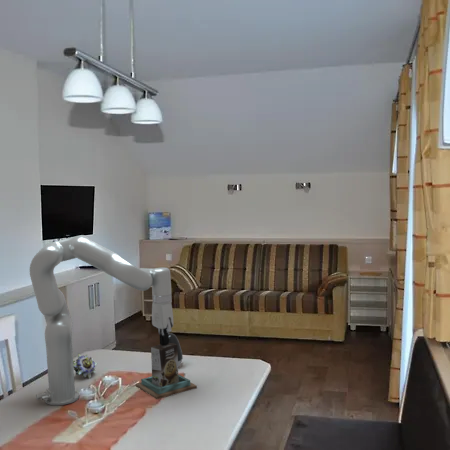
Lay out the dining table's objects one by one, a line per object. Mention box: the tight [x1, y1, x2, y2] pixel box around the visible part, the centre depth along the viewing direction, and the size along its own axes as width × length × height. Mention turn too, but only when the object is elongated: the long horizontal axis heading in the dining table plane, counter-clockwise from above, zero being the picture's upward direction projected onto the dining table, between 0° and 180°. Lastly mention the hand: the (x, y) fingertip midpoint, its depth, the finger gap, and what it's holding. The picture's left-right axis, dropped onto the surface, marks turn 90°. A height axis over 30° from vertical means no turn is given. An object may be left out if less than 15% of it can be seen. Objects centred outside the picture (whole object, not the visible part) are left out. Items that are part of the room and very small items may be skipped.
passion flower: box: [73, 353, 98, 379], centre depth 235 cm, size 11×11×12 cm
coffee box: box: [150, 343, 179, 388], centre depth 217 cm, size 9×6×16 cm
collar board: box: [135, 373, 198, 400], centre depth 218 cm, size 18×18×3 cm
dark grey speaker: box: [168, 332, 184, 367], centre depth 242 cm, size 10×10×15 cm
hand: (164, 344), depth 217 cm, fingers closed
